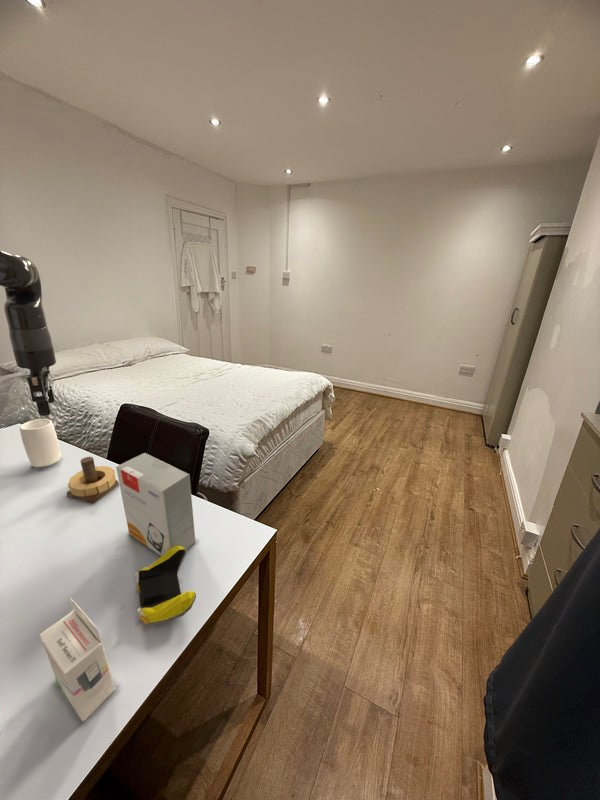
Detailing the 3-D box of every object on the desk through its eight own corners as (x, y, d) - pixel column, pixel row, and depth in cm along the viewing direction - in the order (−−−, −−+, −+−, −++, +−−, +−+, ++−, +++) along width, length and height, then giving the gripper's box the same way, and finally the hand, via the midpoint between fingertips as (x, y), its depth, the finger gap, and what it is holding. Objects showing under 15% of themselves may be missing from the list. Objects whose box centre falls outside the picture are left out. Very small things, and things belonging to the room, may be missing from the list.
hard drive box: (127, 535, 78) (114, 466, 71) (155, 516, 84) (145, 451, 77) (171, 564, 71) (161, 490, 64) (197, 541, 77) (191, 472, 70)
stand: (67, 496, 90) (58, 464, 86) (94, 478, 98) (87, 448, 94) (93, 503, 88) (85, 471, 84) (118, 484, 96) (113, 454, 92)
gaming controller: (185, 558, 73) (136, 574, 68) (183, 540, 71) (133, 555, 66) (199, 618, 61) (141, 642, 56) (197, 597, 59) (136, 621, 54)
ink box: (55, 683, 50) (30, 620, 45) (89, 654, 54) (70, 593, 49) (82, 725, 46) (58, 660, 40) (117, 690, 50) (100, 627, 44)
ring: (59, 490, 90) (57, 483, 89) (95, 469, 100) (94, 462, 99) (91, 500, 87) (89, 493, 86) (125, 477, 97) (123, 470, 96)
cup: (25, 472, 99) (11, 431, 94) (38, 457, 107) (26, 419, 101) (56, 469, 101) (45, 429, 96) (67, 455, 109) (57, 417, 104)
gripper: (18, 340, 80) (33, 400, 86) (5, 353, 69) (23, 422, 75) (55, 339, 84) (67, 397, 90) (48, 352, 72) (62, 417, 78)
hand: (47, 408), depth 82 cm, fingers open, 8 cm apart
